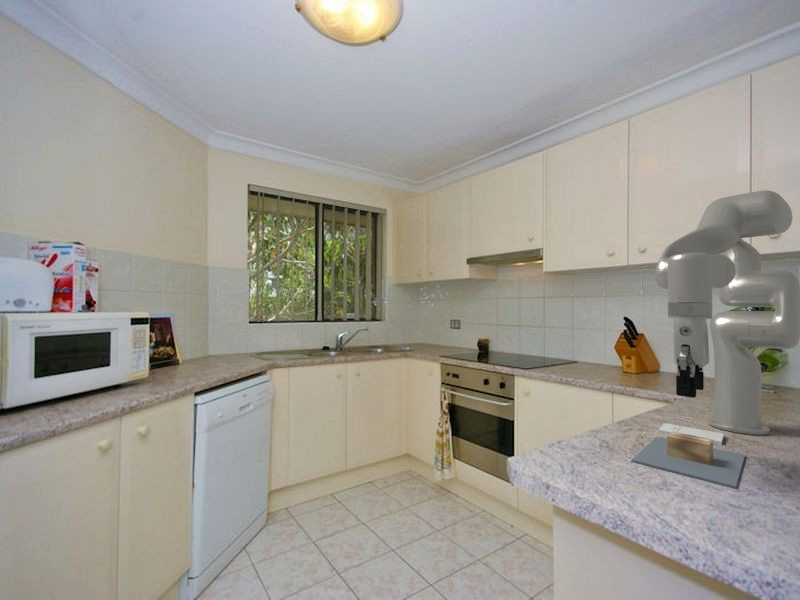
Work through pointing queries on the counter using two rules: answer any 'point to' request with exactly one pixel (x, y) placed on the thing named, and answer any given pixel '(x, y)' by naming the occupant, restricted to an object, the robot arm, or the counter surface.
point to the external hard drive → (693, 432)
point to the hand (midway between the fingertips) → (690, 392)
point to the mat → (693, 463)
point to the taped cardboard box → (690, 447)
